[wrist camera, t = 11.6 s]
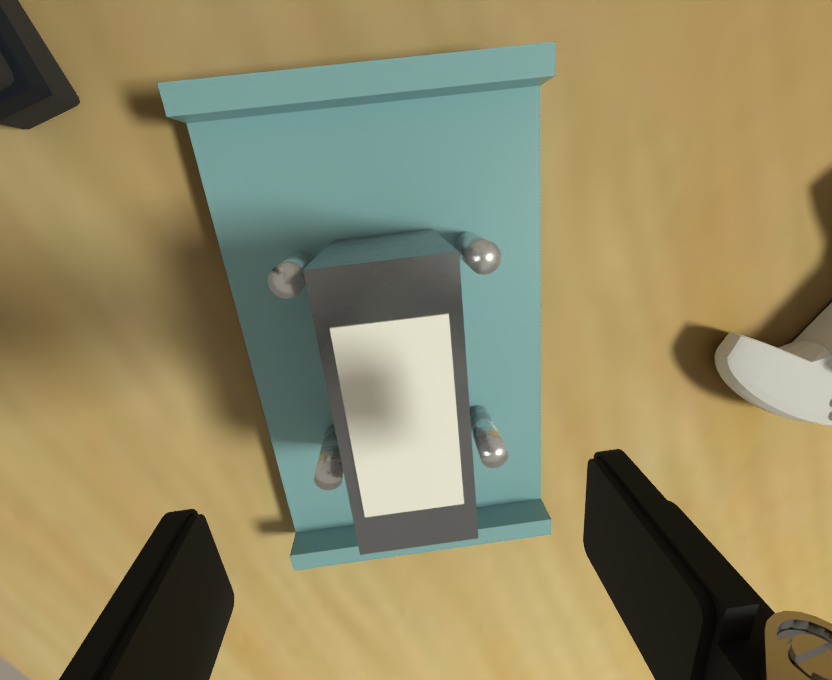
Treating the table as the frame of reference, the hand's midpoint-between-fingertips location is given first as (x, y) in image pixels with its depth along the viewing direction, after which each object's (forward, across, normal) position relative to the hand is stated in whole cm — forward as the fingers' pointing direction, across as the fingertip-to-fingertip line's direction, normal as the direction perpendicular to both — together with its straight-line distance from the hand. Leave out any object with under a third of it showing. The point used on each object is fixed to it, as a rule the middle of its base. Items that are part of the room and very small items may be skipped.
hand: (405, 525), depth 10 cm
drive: (+13, 0, +1) cm, 13 cm away
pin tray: (+15, 0, +1) cm, 15 cm away
